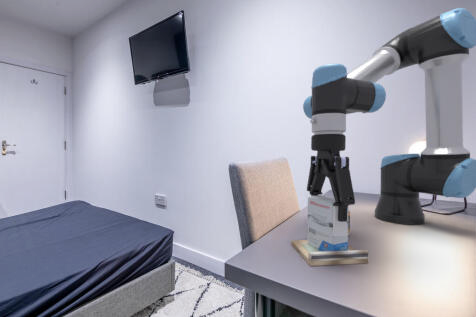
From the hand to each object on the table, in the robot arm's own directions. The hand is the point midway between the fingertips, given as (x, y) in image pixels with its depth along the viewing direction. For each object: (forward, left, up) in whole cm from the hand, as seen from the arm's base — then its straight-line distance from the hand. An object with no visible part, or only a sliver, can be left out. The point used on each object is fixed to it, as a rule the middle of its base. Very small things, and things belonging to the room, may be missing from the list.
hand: (326, 227), depth 58 cm
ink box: (0, 0, -5) cm, 5 cm away
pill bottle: (-10, -13, -6) cm, 18 cm away
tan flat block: (0, 0, -6) cm, 6 cm away
